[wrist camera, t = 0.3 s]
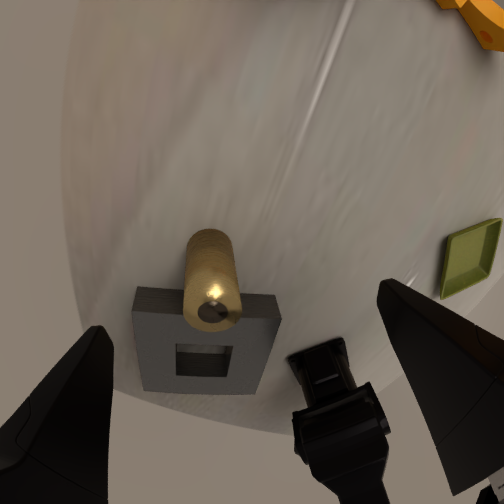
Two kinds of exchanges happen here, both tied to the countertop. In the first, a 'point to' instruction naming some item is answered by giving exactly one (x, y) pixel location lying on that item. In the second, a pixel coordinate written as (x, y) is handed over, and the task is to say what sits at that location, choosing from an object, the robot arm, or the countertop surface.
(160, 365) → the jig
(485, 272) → the olive piece
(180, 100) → the countertop surface
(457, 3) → the pipe clamp
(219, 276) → the bushing
